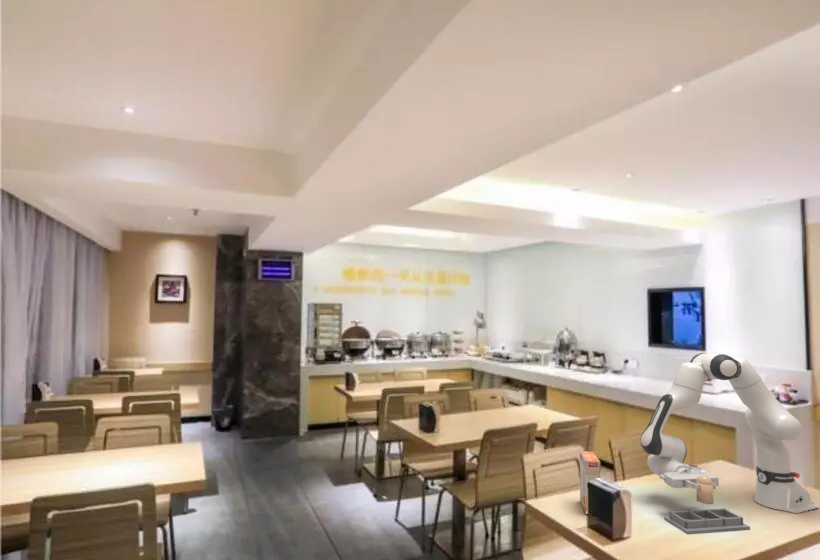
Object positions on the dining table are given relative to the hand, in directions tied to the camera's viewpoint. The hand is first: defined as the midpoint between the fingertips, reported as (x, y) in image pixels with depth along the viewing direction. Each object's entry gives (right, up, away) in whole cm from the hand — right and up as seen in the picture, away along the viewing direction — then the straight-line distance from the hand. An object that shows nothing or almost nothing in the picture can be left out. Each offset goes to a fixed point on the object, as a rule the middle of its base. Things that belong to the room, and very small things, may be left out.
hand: (706, 487), depth 177 cm
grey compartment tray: (0, -14, 0) cm, 14 cm away
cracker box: (-39, -15, +13) cm, 43 cm away
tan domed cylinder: (0, -6, +1) cm, 6 cm away
